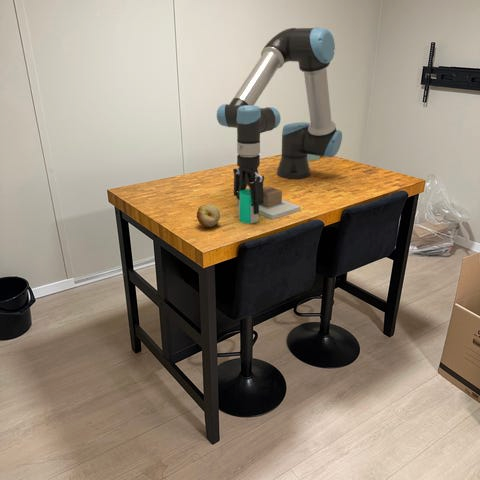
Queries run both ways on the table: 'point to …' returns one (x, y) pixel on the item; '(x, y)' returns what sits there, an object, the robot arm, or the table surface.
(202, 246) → the table surface
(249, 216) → the candle
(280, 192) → the walnut block
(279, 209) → the slab
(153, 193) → the table surface
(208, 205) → the fruit
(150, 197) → the table surface
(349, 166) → the table surface
